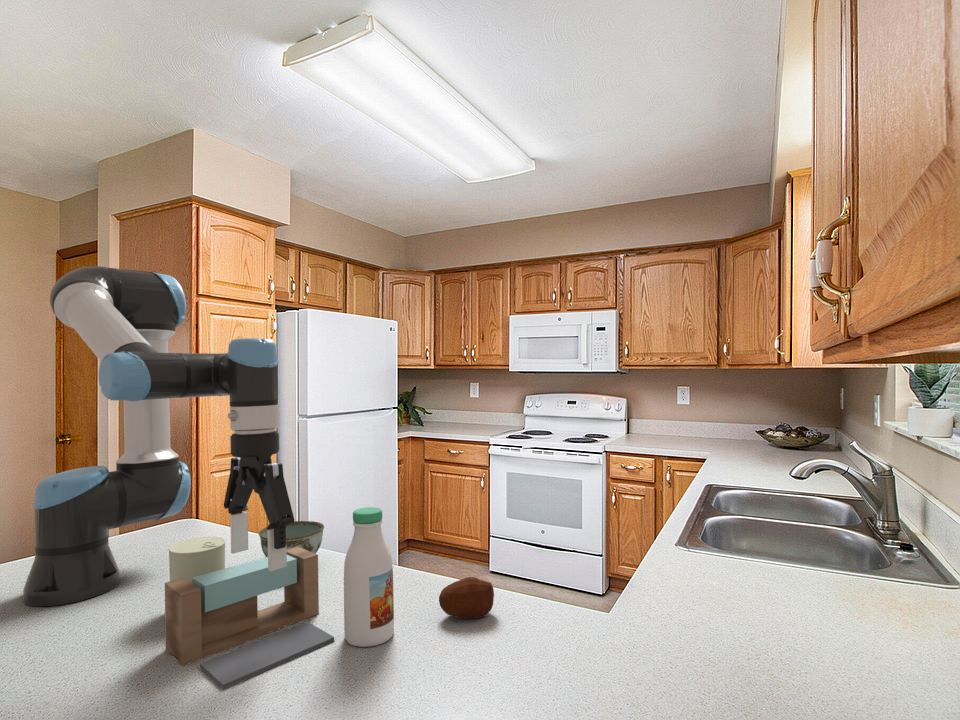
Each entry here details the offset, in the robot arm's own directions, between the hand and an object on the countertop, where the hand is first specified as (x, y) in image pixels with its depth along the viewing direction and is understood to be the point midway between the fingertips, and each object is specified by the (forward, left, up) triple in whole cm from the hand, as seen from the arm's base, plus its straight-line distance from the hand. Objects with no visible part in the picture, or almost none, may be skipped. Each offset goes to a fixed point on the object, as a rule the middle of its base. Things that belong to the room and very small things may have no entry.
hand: (257, 559), depth 91 cm
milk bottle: (+17, +10, -11) cm, 23 cm away
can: (-15, -4, -11) cm, 19 cm away
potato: (+24, +25, -11) cm, 36 cm away
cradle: (0, -1, -11) cm, 11 cm away
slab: (0, -2, -5) cm, 5 cm away
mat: (+10, -3, -11) cm, 15 cm away
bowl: (-22, +18, -11) cm, 31 cm away
